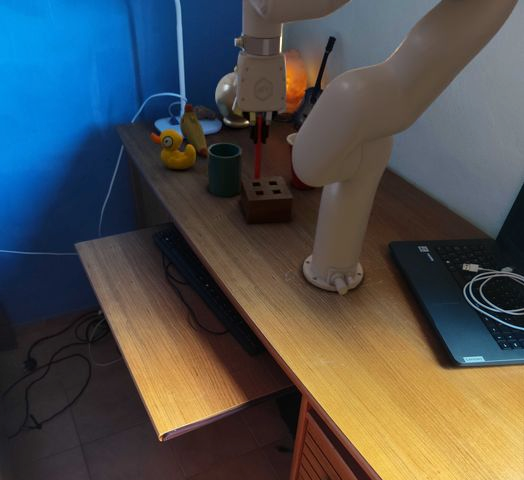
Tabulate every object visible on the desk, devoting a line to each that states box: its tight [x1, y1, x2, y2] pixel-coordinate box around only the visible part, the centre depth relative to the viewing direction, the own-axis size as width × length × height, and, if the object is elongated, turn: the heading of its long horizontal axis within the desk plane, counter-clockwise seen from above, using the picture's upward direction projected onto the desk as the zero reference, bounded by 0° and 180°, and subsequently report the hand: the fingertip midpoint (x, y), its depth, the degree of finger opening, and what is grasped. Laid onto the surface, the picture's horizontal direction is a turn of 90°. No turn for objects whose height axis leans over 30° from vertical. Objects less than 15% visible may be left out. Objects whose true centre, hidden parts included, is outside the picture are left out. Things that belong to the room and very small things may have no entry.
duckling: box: [150, 128, 197, 170], centre depth 123 cm, size 11×5×10 cm, turn 86°
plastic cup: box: [286, 132, 314, 190], centre depth 119 cm, size 11×11×12 cm
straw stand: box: [240, 175, 294, 225], centre depth 111 cm, size 10×10×6 cm
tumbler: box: [207, 142, 243, 198], centre depth 116 cm, size 8×8×10 cm
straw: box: [253, 114, 263, 179], centre depth 104 cm, size 1×1×14 cm
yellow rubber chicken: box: [179, 103, 208, 157], centre depth 133 cm, size 20×5×10 cm, turn 24°
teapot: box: [214, 65, 249, 129], centre depth 143 cm, size 18×14×16 cm
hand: (258, 141), depth 103 cm, fingers closed on straw, 1 cm apart
